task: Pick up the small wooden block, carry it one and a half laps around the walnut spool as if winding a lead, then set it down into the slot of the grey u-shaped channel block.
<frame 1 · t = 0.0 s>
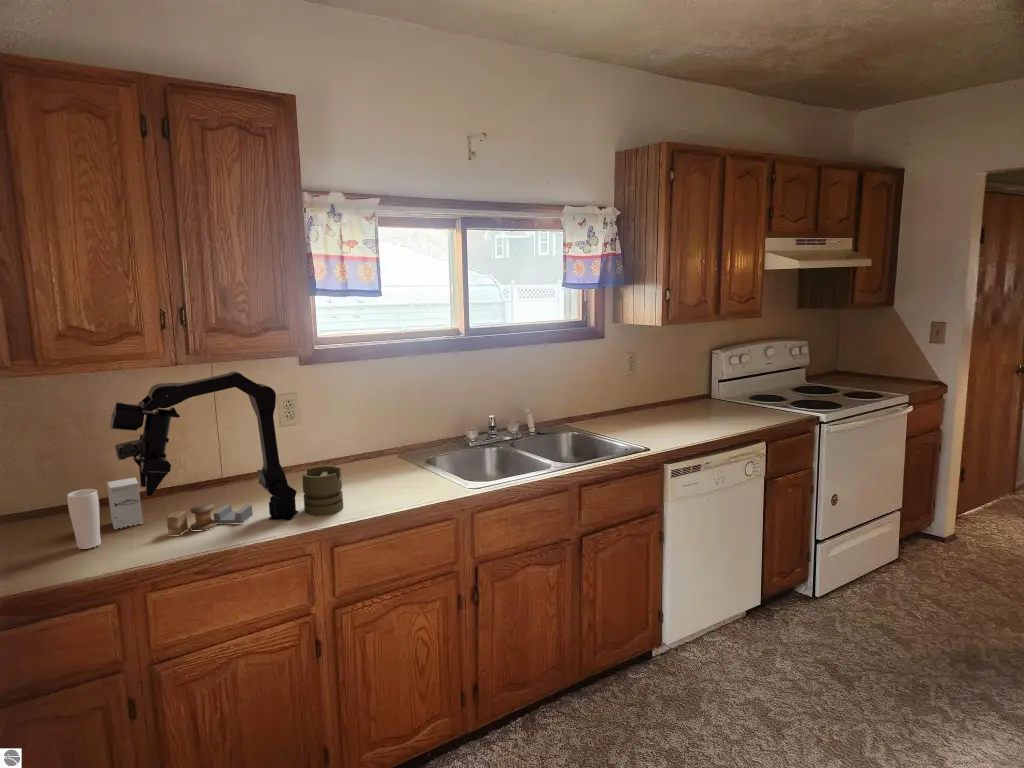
hand: (145, 491, 170), 15 cm above the countertop, tool pointing down, fingers open, 9 cm apart
wooden block: (178, 533, 183), on the countertop
supplement box: (127, 524, 190), on the countertop
spool: (204, 526, 187), on the countertop
grooved olive planter pot: (324, 509, 199), on the countertop
drinking glass: (89, 547, 174), on the countertop
grey u-shaped channel block: (233, 519, 192), on the countertop
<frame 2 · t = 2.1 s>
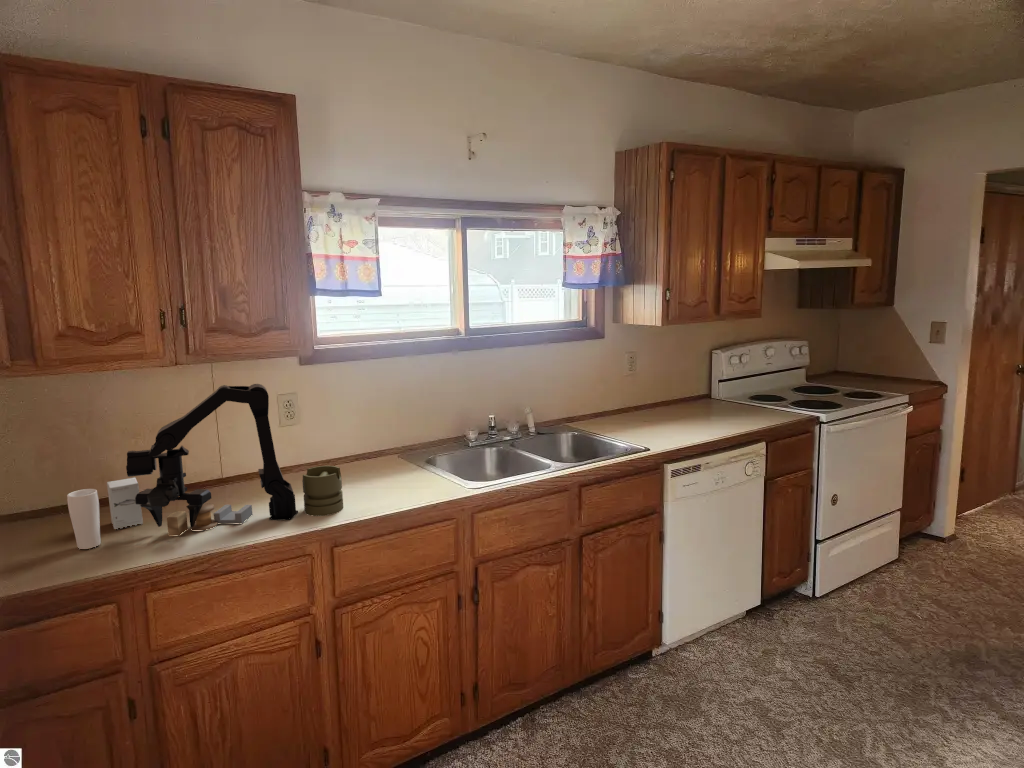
hand: (176, 526, 182), 2 cm above the countertop, tool pointing down, fingers open, 9 cm apart
nothing on the countertop moved.
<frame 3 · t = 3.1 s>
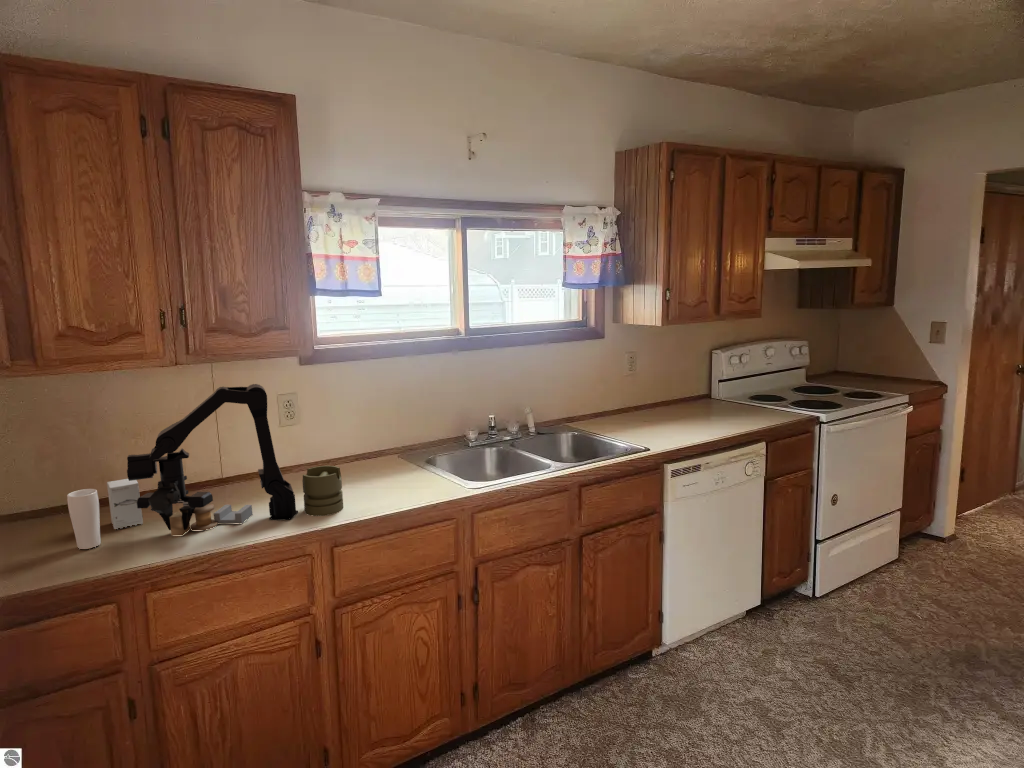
hand: (178, 529, 182), 1 cm above the countertop, tool pointing down, fingers open, 4 cm apart
wooden block: (181, 532, 183), on the countertop, touching gripper
everything else where it was.
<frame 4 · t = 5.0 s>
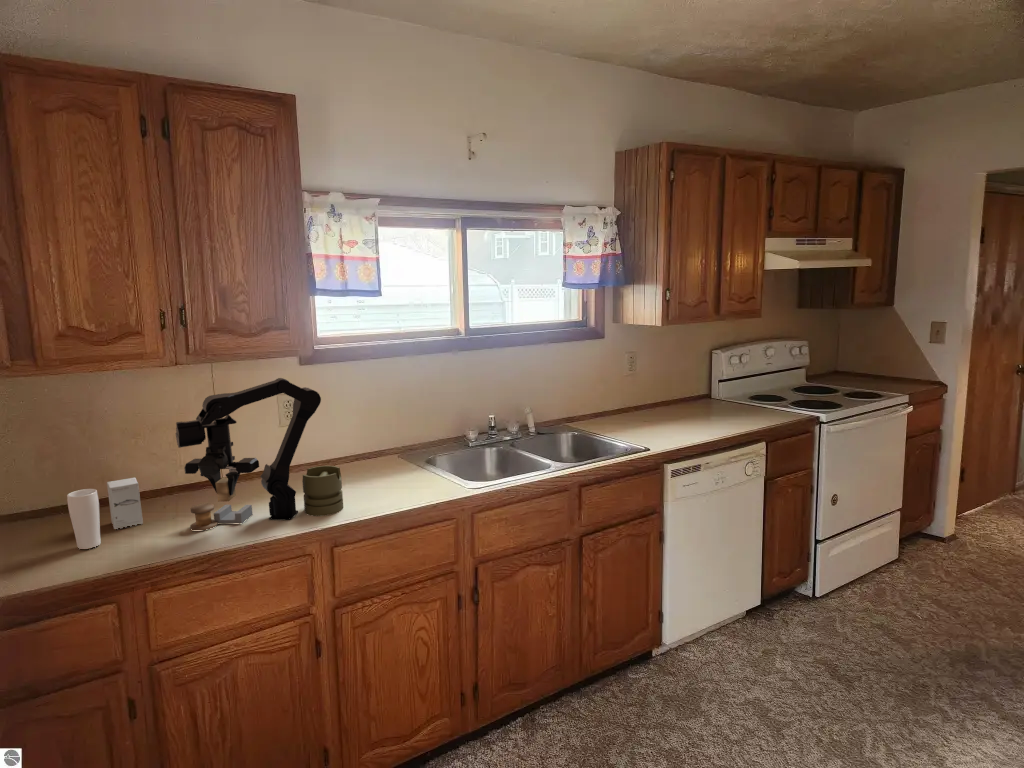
hand: (225, 495, 183), 10 cm above the countertop, tool pointing down, fingers closed on wooden block, 3 cm apart
wooden block: (227, 498, 184), point 9 cm above the countertop, touching gripper
everything else where it was.
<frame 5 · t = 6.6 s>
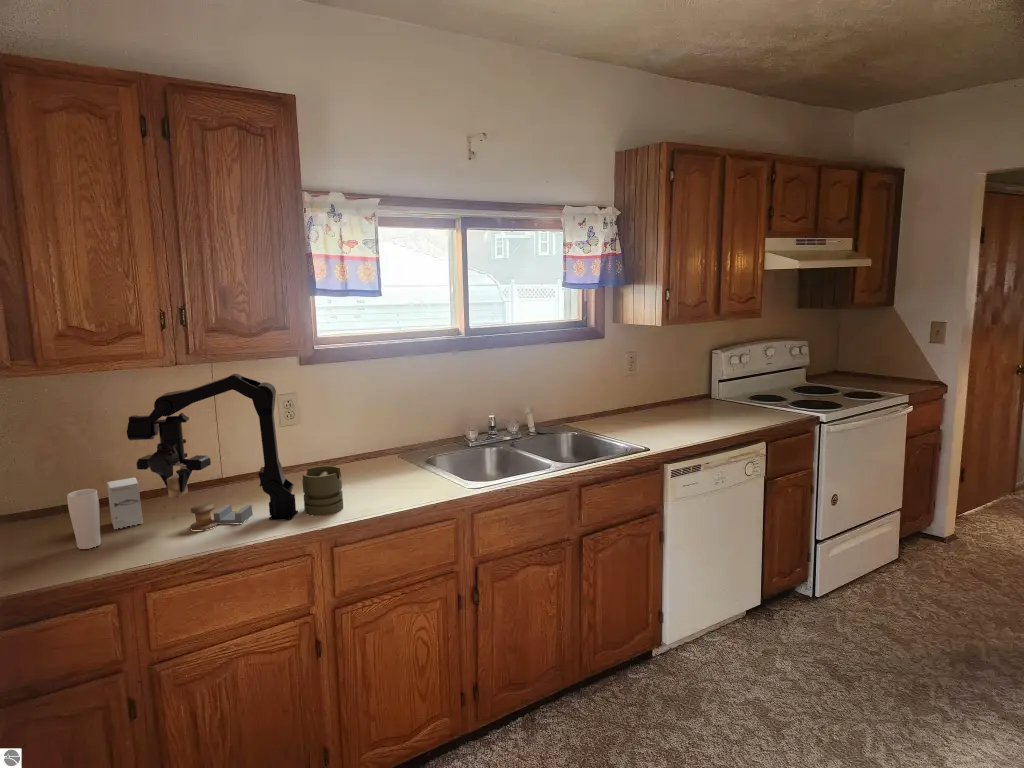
hand: (176, 491, 186), 10 cm above the countertop, tool pointing down, fingers closed on wooden block, 3 cm apart
wooden block: (178, 494, 187), point 9 cm above the countertop, touching gripper
everything else where it was.
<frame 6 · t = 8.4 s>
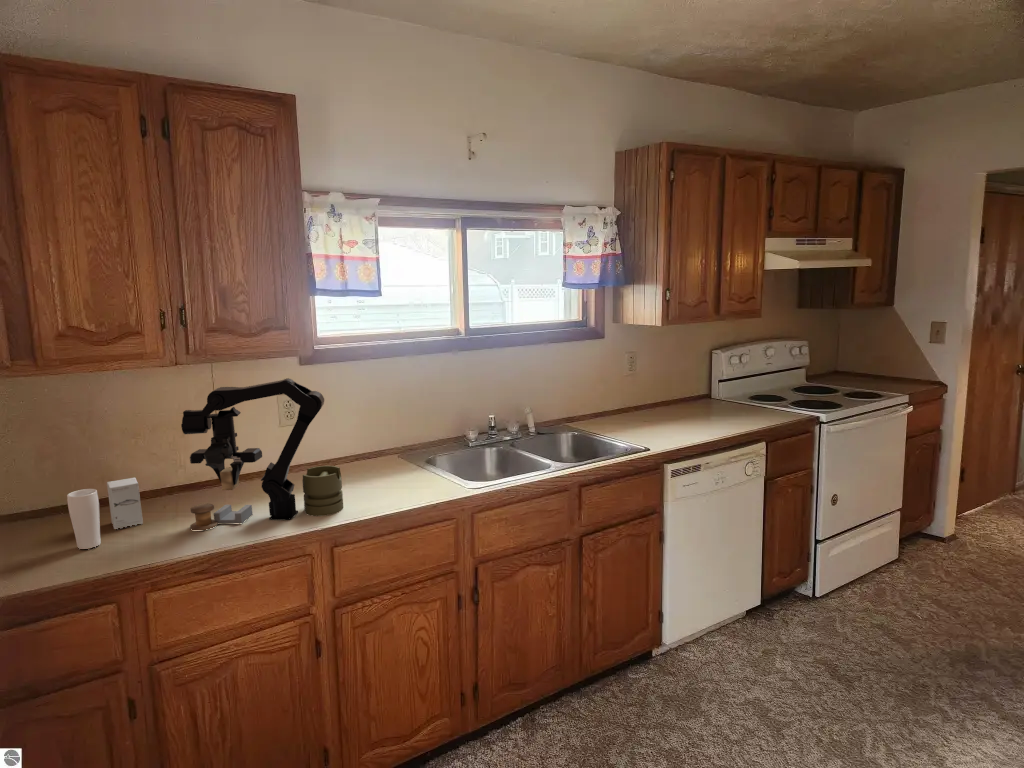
hand: (229, 484, 189), 11 cm above the countertop, tool pointing down, fingers closed on wooden block, 3 cm apart
wooden block: (230, 487, 190), point 10 cm above the countertop, touching gripper
everything else where it was.
when the fingers open (4 cm above the countertop, at t = 9.9 s): wooden block drops 2 cm, resting on grey u-shaped channel block.
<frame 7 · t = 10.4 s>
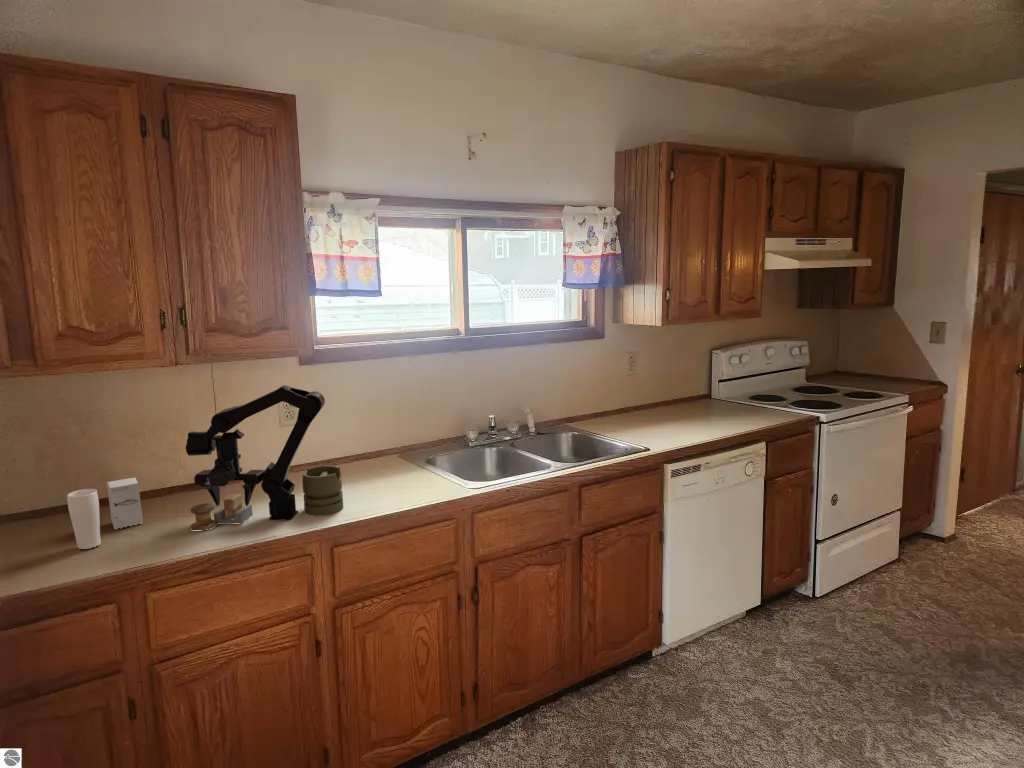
hand: (232, 505, 191), 4 cm above the countertop, tool pointing down, fingers open, 8 cm apart
wooden block: (234, 514, 192), point 1 cm above the countertop, touching grey u-shaped channel block
everything else where it was.
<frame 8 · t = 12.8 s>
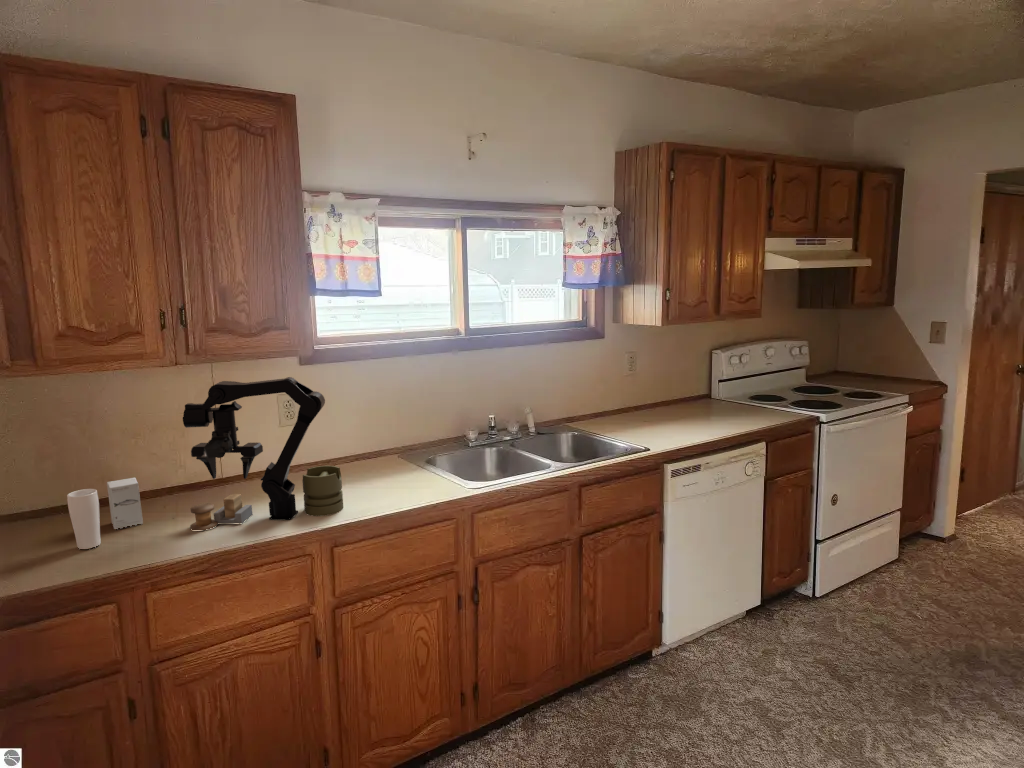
hand: (229, 478, 190), 12 cm above the countertop, tool pointing down, fingers open, 9 cm apart
nothing on the countertop moved.
at the end: wooden block 0.7 cm off-centre on the grey u-shaped channel block, point 1.2 cm above the grey u-shaped channel block's base; wooden block tilted 0°; the gripper is holding nothing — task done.
